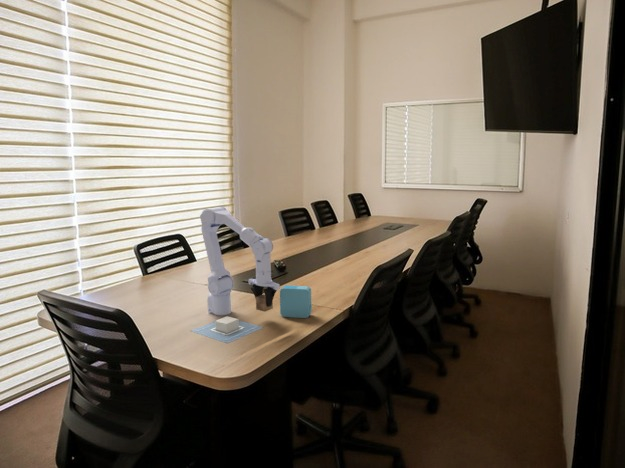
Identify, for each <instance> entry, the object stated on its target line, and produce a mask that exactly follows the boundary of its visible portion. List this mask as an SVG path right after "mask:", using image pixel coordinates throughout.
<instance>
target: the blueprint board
mask: <svg viewBox="0 0 625 468" xmlns="http://www.w3.org/2000/svg"><path fill="white" fill-rule="evenodd" d="M263 328H264V326H260V325H256V324H253V323H250V322H245V321H242V320H239V329H236V330H234V331H231V332H229V333H224V332H221V331H217V330H216V329H215V321H212V322H210V323H207V324H205V325H202V326H200V327H197V328H194V329H192V330H190V332H192V333H195V334H199V335H201V336H204V337H207V338H210V339H213V340H217V341H220V342H223V343H226V344H229V343H232V342H234V341H237V340H238V339H241V338H243V337H246V336H248V335H250V334H252V333H255V332H257V331H259V330H262V329H263Z"/></svg>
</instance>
